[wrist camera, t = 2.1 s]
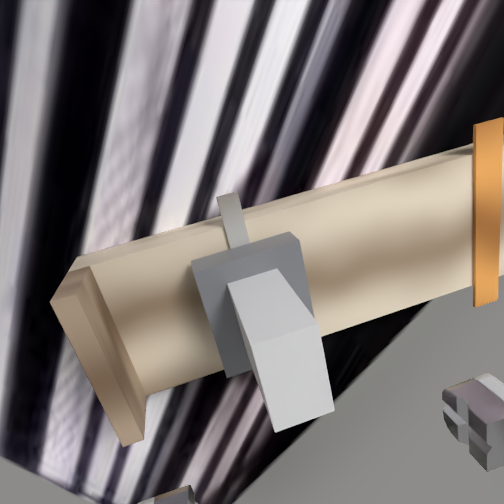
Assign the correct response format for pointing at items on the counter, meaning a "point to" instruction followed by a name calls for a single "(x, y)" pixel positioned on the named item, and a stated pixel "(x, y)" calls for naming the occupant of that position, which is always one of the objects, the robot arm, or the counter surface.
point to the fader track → (315, 260)
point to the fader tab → (268, 325)
